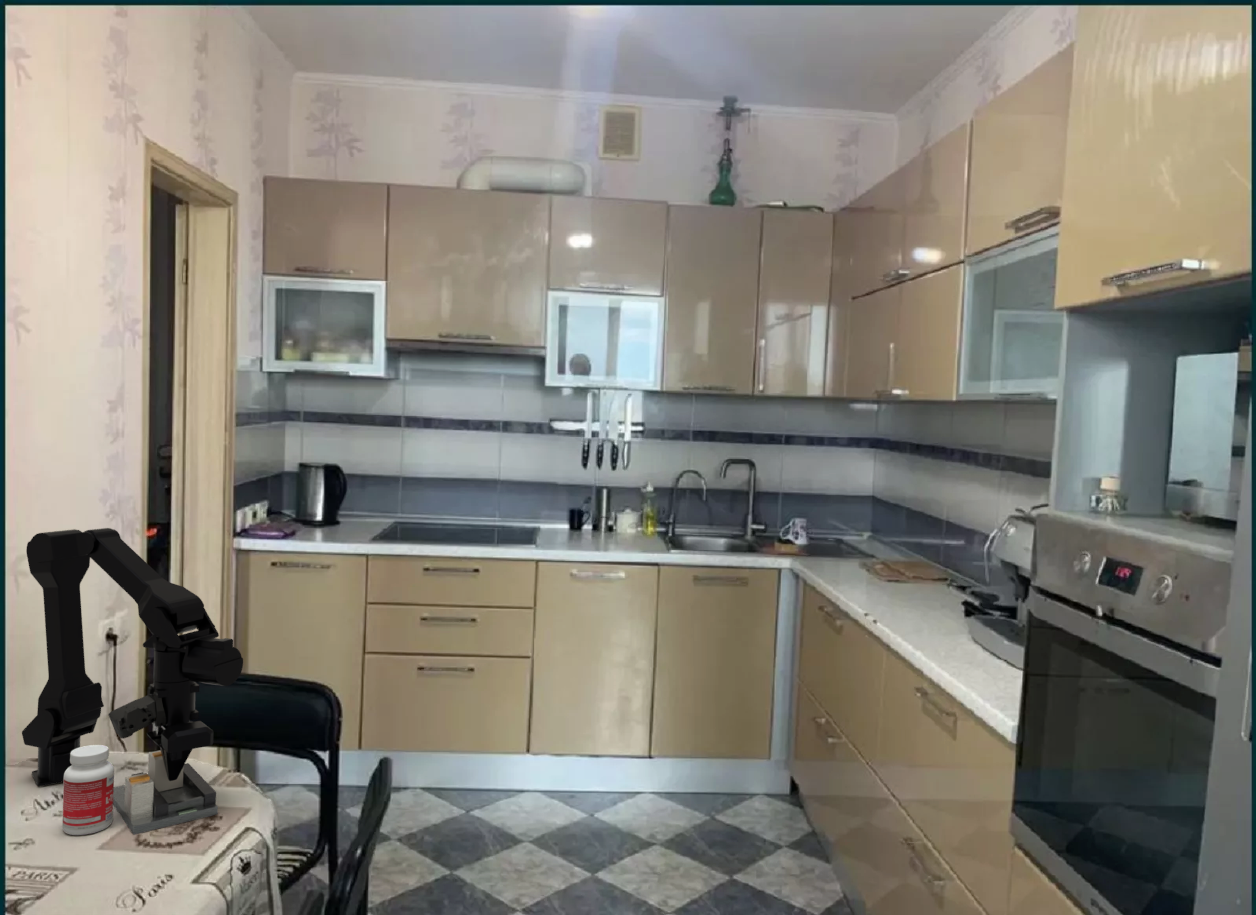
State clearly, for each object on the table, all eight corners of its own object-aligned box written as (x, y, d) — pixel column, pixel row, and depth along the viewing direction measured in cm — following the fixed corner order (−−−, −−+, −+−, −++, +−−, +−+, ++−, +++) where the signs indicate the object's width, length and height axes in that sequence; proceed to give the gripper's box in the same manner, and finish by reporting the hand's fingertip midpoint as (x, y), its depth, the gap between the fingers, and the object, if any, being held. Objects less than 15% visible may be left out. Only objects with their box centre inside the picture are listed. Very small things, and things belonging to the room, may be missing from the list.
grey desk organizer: (107, 796, 136) (108, 754, 136) (185, 779, 143) (187, 739, 143) (133, 834, 124) (134, 788, 124) (217, 814, 131) (218, 770, 131)
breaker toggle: (147, 784, 138) (148, 750, 138) (175, 778, 140) (176, 745, 140) (154, 792, 135) (155, 758, 135) (182, 786, 137) (183, 752, 137)
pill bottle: (114, 830, 125) (116, 753, 124) (62, 840, 121) (64, 760, 121) (111, 813, 130) (113, 739, 130) (61, 822, 127) (63, 746, 126)
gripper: (100, 672, 136) (98, 773, 136) (130, 701, 122) (128, 813, 122) (179, 662, 144) (177, 758, 144) (215, 688, 130) (213, 794, 130)
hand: (172, 779), depth 135 cm, fingers closed
